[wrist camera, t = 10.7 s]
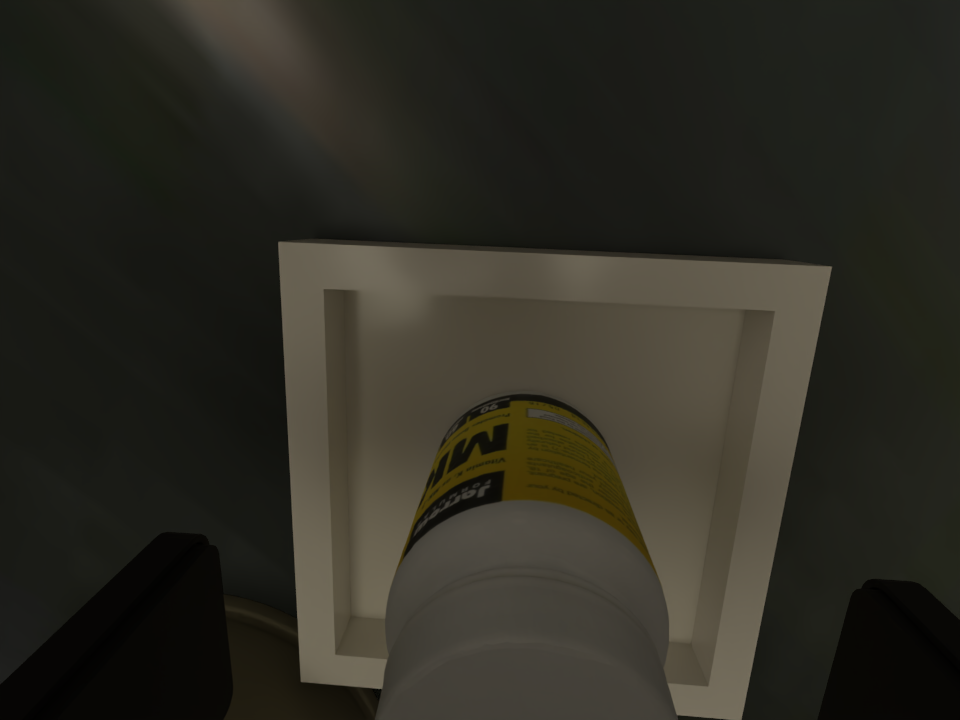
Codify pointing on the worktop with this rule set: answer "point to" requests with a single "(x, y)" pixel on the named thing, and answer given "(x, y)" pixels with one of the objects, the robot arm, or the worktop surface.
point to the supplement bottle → (525, 579)
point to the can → (281, 671)
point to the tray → (569, 376)
